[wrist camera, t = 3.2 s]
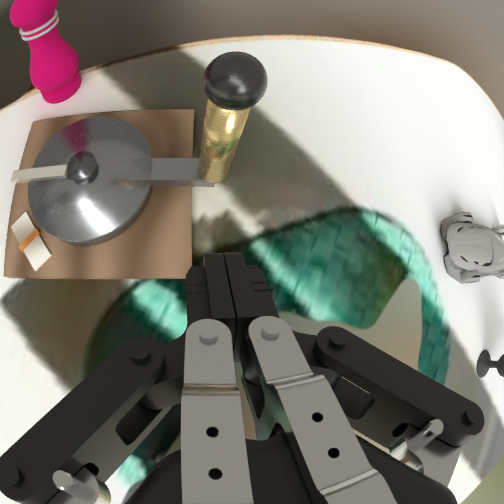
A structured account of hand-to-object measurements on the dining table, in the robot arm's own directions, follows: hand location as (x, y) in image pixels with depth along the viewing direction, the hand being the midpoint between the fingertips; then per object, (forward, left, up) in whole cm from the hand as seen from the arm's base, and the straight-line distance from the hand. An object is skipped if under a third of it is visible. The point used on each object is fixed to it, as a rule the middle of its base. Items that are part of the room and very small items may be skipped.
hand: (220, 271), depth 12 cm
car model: (+46, +4, -19) cm, 50 cm away
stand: (-12, +12, -19) cm, 25 cm away
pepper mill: (-21, +29, -19) cm, 40 cm away
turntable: (-9, +12, -17) cm, 22 cm away
